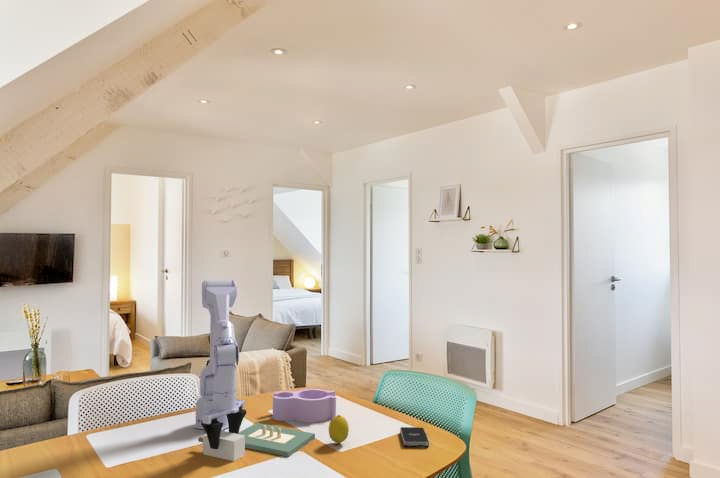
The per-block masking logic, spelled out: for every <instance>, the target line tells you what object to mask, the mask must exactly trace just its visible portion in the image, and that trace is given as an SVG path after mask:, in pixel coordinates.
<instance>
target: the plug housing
mask: <svg viewBox="0 0 720 478" xmlns="http://www.w3.org/2000/svg"><path fill="white" fill-rule="evenodd" d="M202 435H203V436H199V437H198V439H197V441H198V443H199V442H200V443H202V454H203V455H205V456H209V457H214V458H218V459H223V460H226V461H230V462H235V461H237V460H239V459H241V457H243V456H245V455H246V454H245V453H246V448H245V435H240V434H235V433H230V432H229V431H226V430H222V431H221V433H220V441H219V447H218V449H212V448H210V444H209V440H208V437H207V434H206V433H204V434H202Z"/></svg>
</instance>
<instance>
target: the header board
mask: <svg viewBox="0 0 720 478" xmlns="http://www.w3.org/2000/svg"><path fill="white" fill-rule="evenodd" d="M238 434H240V435H245V449H249V450H255V451H260V452H265V453H270V454H273V455H277V456H283V457H288V458H289V457H290V456H292V455H293V454H295V453H296V452H297V451H299V450H300V449H302V448H303V447H304V446H306V445H307V444H309V443H310V442H311V441H312V440H315V438H316V433H315V432H307V431H301V430H299V429H298V430H297V429H292V428H287V427H281V426H276V425H270V424H265V423H259V422H255V423H254V424H252V425H250V426H248V427H247V428H244V429H242V430H241V431H239V433H238Z"/></svg>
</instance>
